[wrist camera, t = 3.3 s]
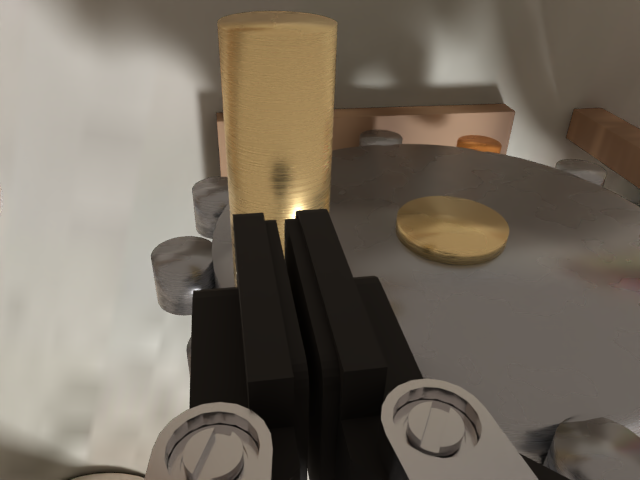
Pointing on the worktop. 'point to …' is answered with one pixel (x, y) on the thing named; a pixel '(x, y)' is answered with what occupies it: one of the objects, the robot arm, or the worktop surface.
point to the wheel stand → (481, 130)
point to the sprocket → (437, 248)
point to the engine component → (1, 200)
